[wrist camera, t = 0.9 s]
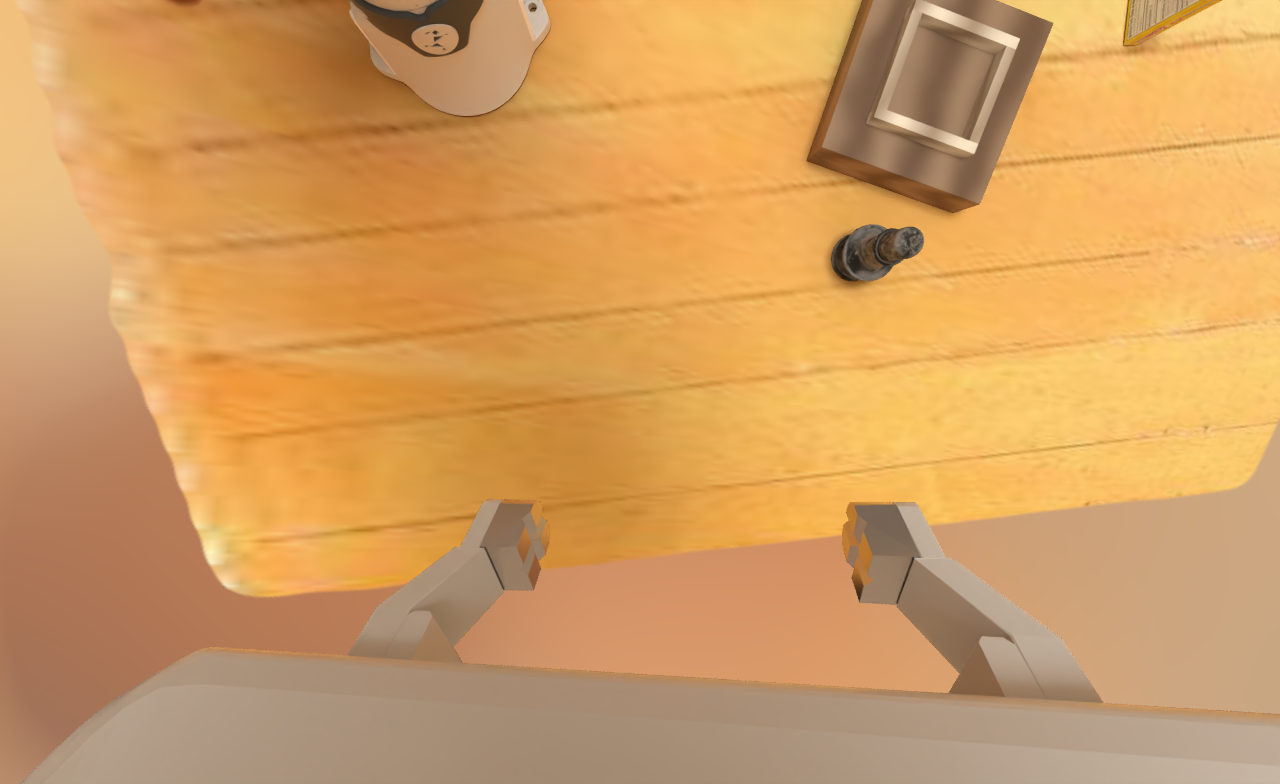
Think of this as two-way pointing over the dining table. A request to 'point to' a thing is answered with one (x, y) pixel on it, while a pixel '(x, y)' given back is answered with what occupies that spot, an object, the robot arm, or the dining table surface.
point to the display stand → (929, 96)
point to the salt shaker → (874, 251)
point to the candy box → (1158, 16)
